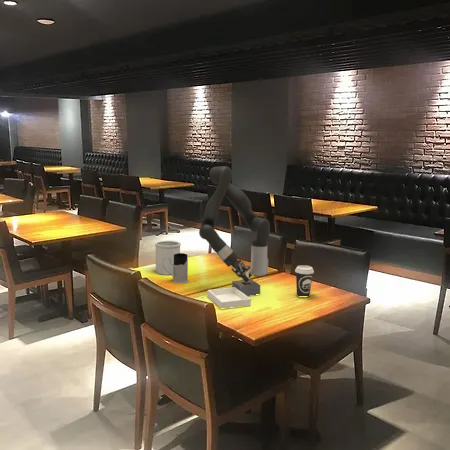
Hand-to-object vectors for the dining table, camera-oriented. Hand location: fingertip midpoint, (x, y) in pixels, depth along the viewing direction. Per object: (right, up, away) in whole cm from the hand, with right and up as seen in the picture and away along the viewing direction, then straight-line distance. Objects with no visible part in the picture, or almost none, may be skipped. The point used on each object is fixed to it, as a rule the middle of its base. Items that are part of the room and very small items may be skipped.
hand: (249, 279), depth 258 cm
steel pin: (-2, -7, +2) cm, 8 cm away
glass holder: (-40, -3, +18) cm, 44 cm away
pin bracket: (-2, -7, +2) cm, 8 cm away
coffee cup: (+28, -9, -1) cm, 29 cm away
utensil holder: (-46, 0, +36) cm, 58 cm away
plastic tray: (-11, -10, -11) cm, 18 cm away
